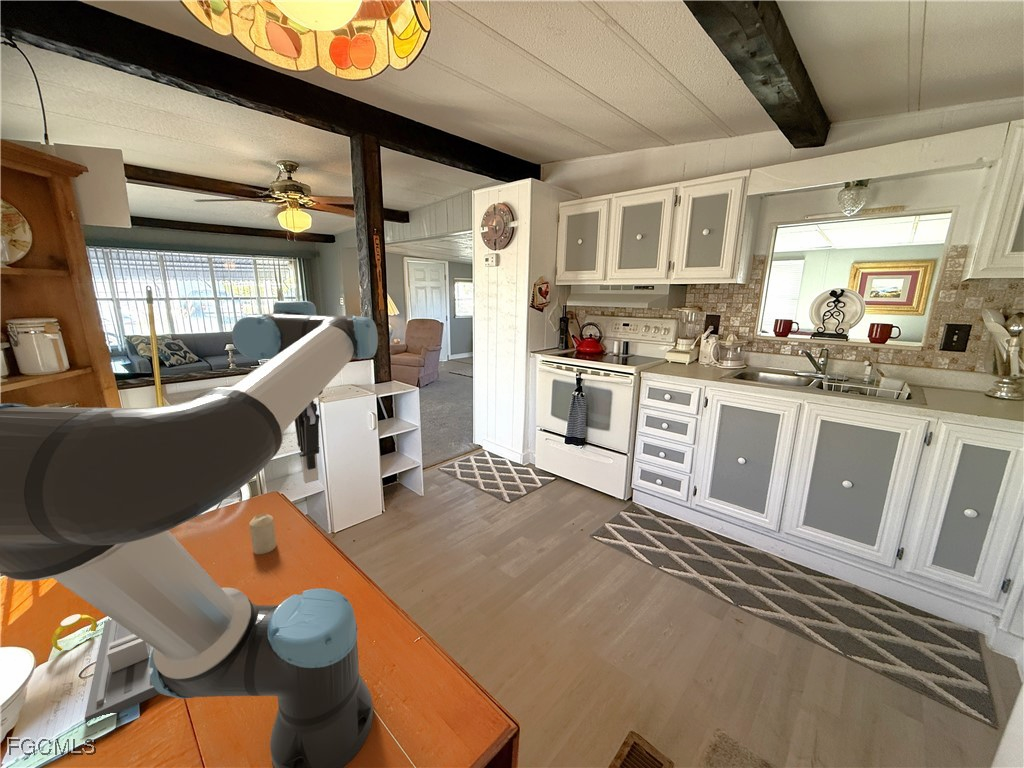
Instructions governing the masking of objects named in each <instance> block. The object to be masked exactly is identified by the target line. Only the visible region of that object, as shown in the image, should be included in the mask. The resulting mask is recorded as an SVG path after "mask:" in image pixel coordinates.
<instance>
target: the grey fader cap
mask: <svg viewBox="0 0 1024 768" xmlns="http://www.w3.org/2000/svg"><path fill="white" fill-rule="evenodd" d="M149 651H150V645H149V644H148V643H146V642H145V641H143V640H142V639H140V638H139V637H137V636H136V635H134V634H132V635H130V636H127V637H125V638H122V639H119V640H117V641H114V642H111V643H109V647H108V653H107V657H108V661H109V665H110V669H111V673H113V672H115V671H118V670H120V669H122V668H125V667H127V666H130V665H132V664H135V663H137V662H139V661H142V660H144V659H147V658H149Z"/></svg>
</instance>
